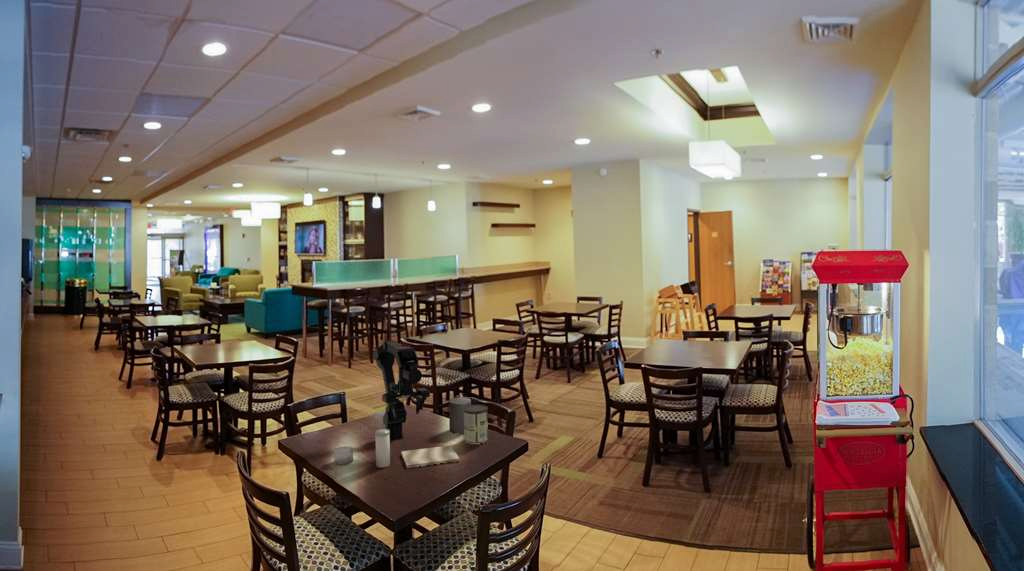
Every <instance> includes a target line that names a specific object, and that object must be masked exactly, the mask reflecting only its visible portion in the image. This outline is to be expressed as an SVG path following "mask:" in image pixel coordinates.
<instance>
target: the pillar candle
mask: <svg viewBox="0 0 1024 571" xmlns="http://www.w3.org/2000/svg"><path fill="white" fill-rule="evenodd" d="M469 405H472V401H471V399H470V398H467V397H454V398H451V399H449V409H448V410H449V414H448V416H449V420H448V421H449V424H448V425H449V426H448V428H449V432H450V433H451V432H452V434H455V433H463V434H464V411H463V408H464V407H466V406H469Z"/></svg>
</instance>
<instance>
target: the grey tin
mask: <svg viewBox="0 0 1024 571" xmlns="http://www.w3.org/2000/svg"><path fill="white" fill-rule="evenodd" d="M333 460H334V461H333V462H334V465H335V466H338V465H339V467H341V466H342V465H344V466H348V464H349V465H351V464H353V463H352V462H354V447H352V446H340V447H336V448H335V449H334V450H333ZM342 467H343V466H342Z"/></svg>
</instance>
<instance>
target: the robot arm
mask: <svg viewBox="0 0 1024 571" xmlns="http://www.w3.org/2000/svg"><path fill="white" fill-rule="evenodd" d="M374 361H375V362H376V366H377V367H378V368H379V369H380V370H381V372H382V378H383V382H384V388H385V393H383V394H382V396H381V400H382V402H383V403H385V404H386V406H385V409H384V410H385V413H384V415H383V417H382V422H383V425H385V427H384V429H388V430H390V434H389V436H390V441H391V440H400V439H404V435H403V424H405V423H406V421H407V416H408V415H407V414H408V413H407V410H406V409H405V408H406V407H405V403H404V401H401V400H400V399H407V398H413V397H415V401H416V402H415V403H416V404H415V414H416V415H419V413H420V411H421V409H422V406H423V404H424V402H425V400H428V398H430V397H431V392H430V390H429V389H427V388H425V387H420V388H416V389H415V391H414V384H418V383H420V381H421V380H422V378H423V373H422V372H421V370H420V369H418V366H419V361H420V360H419V357H418V355H417V353H416V350H415V349H414V348H413V347H412V346H403V345H400V343H397V341H396V340H386V341H385V340H384V341H383V342H382V344H381V345H380V346H378V347H377V348H376V350H375V351H374ZM395 361H396V364H397V367H398V368H397V369H398V380H397V383H396V378H395V372H394V368H393V366H394V363H395Z"/></svg>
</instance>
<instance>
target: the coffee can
mask: <svg viewBox="0 0 1024 571" xmlns="http://www.w3.org/2000/svg"><path fill="white" fill-rule="evenodd" d="M463 411H464V433H463V437H464V438H463V441H465V442H466V443H465V442H464V443H465V444H467V443H469V444H468V445H474V444H476V445H481V444H480V443H483V444H485V443H484V442H486V441H487V440H488V441H489V434H488V432H489V431H488V430H489V429H488V428H489V427H488V426H489V424H488V423H489V422H488V418H489V417H488V411H489V408H488V406H487V405H483V404H471V405H469V406H466V407H464V408H463ZM488 441H487V442H488ZM487 442H486V443H487Z"/></svg>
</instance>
